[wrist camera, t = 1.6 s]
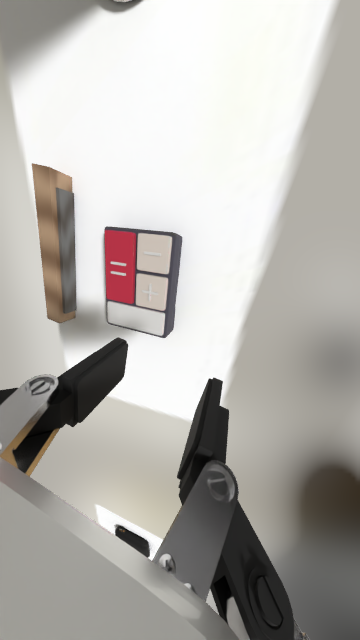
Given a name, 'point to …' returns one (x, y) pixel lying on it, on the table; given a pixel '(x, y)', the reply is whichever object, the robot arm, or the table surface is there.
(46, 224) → the bar
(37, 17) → the table surface
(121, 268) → the calculator
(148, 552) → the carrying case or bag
